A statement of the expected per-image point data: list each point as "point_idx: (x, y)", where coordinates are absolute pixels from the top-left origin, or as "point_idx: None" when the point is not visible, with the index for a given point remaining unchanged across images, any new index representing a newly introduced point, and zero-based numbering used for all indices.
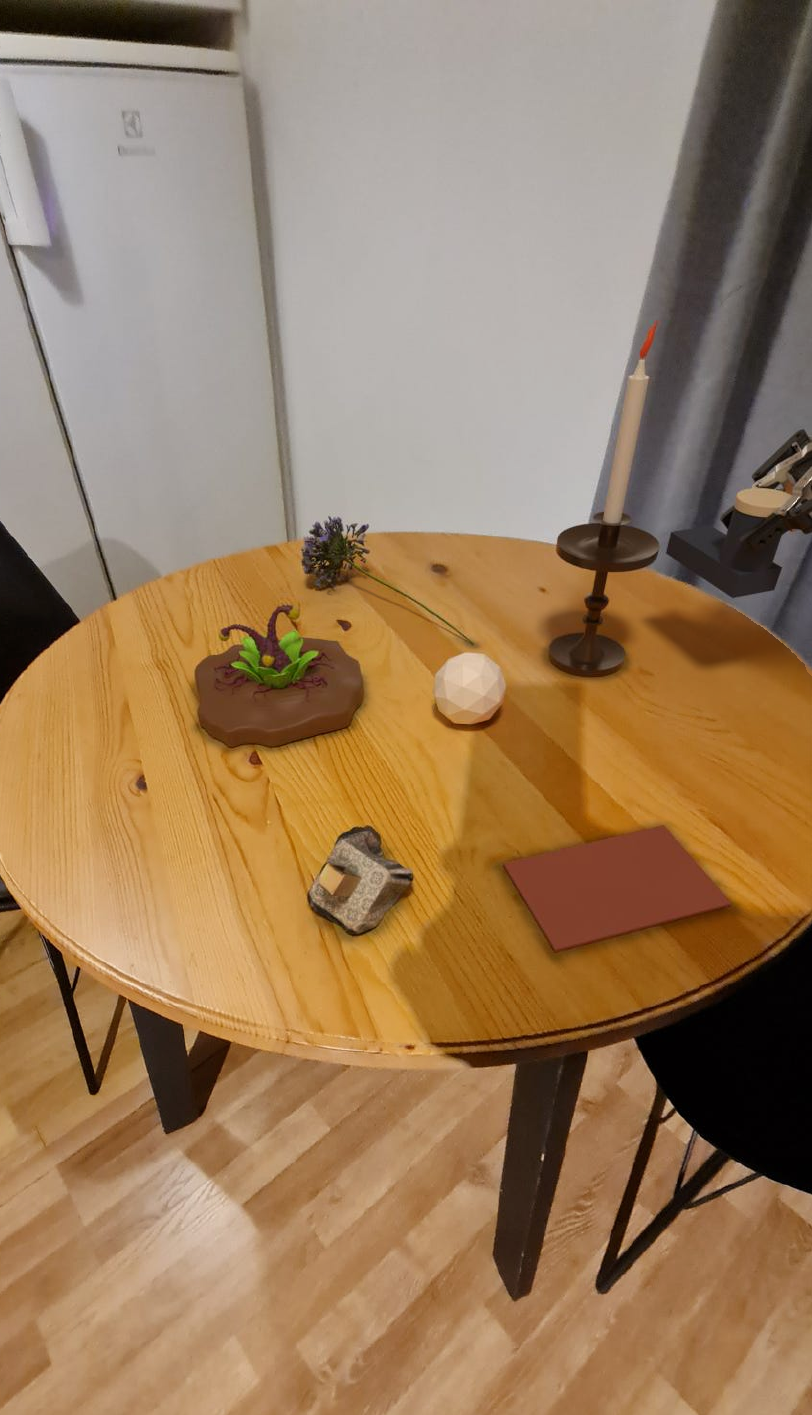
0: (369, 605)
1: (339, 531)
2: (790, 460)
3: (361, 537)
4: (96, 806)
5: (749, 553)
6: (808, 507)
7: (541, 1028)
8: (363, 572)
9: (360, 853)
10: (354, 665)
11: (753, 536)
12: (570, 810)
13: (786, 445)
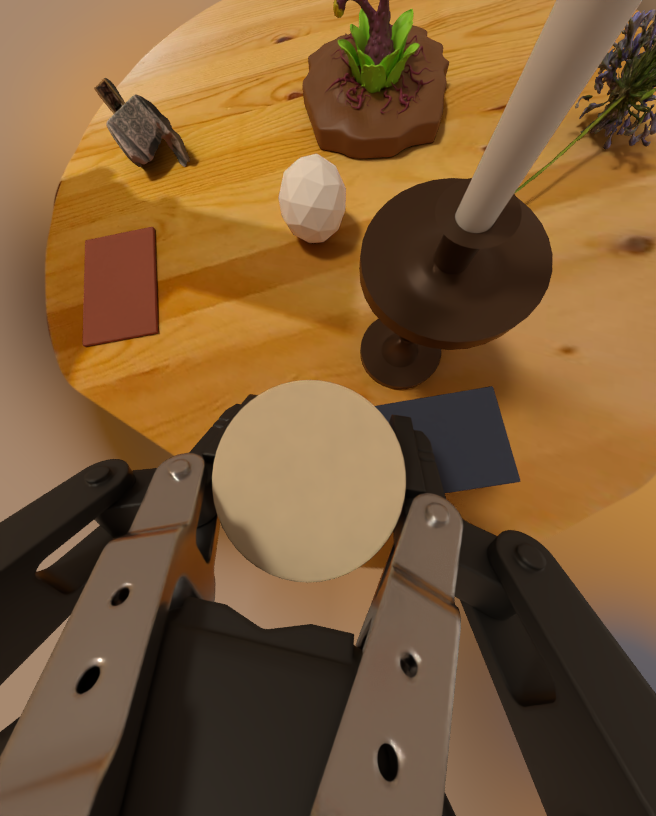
0: (539, 169)
1: None
2: (401, 698)
3: None
4: (266, 22)
5: None
6: (45, 497)
7: (51, 227)
8: (588, 127)
9: (122, 106)
10: (388, 133)
11: None
12: (191, 280)
13: None
